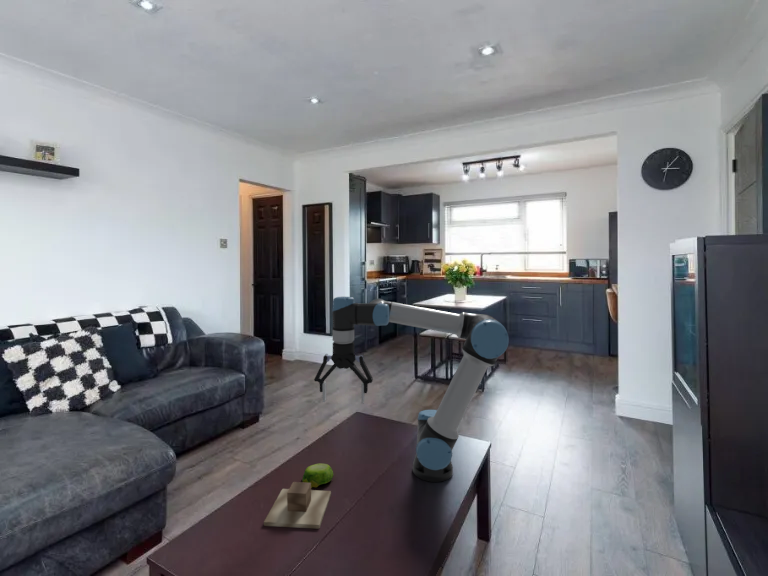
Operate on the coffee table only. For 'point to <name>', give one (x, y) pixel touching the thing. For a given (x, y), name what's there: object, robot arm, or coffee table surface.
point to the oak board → (298, 519)
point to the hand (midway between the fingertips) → (343, 401)
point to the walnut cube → (299, 497)
